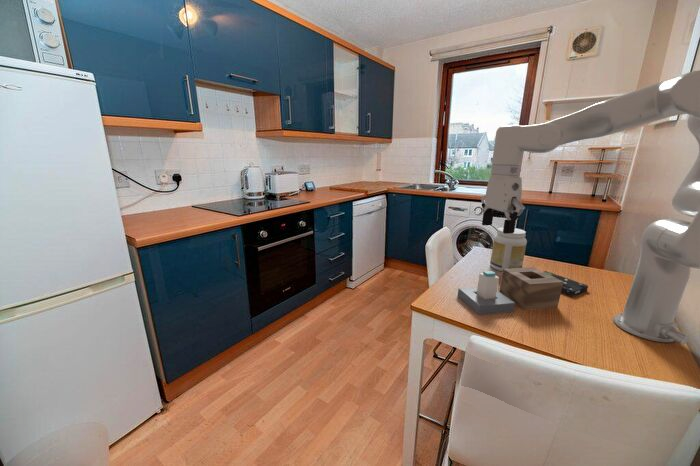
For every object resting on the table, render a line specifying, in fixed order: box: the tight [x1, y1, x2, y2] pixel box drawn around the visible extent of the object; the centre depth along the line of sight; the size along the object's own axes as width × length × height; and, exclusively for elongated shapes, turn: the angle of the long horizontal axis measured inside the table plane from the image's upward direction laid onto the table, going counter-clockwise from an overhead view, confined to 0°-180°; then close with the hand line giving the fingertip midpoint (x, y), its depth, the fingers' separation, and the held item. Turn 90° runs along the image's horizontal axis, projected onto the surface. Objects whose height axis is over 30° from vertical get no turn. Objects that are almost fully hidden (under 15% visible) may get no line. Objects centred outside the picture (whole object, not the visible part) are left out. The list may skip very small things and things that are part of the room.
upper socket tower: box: [498, 266, 563, 311], centre depth 95 cm, size 12×12×9 cm
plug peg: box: [476, 270, 500, 300], centre depth 92 cm, size 4×4×11 cm
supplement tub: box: [489, 226, 528, 272], centre depth 121 cm, size 12×12×17 cm
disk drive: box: [543, 270, 589, 298], centre depth 107 cm, size 10×3×15 cm
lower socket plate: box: [457, 286, 516, 316], centre depth 93 cm, size 12×12×3 cm
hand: (497, 228), depth 86 cm, fingers open, 9 cm apart
